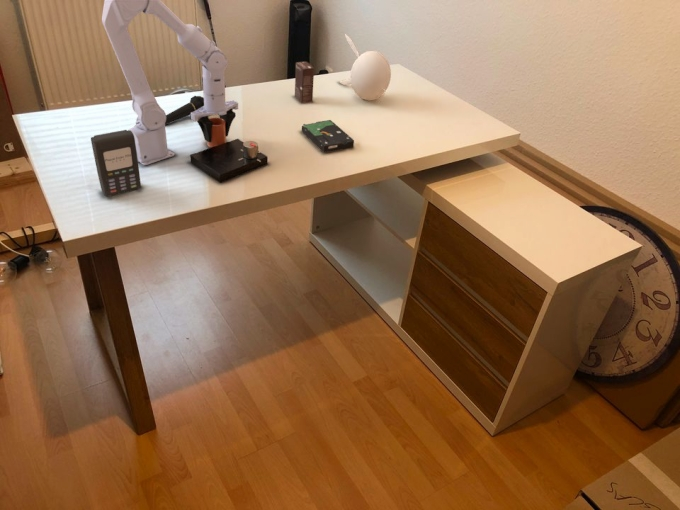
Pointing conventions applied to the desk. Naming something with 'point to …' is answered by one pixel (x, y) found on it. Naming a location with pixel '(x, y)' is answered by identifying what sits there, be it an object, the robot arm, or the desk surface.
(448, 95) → the desk surface
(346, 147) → the disk drive
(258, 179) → the desk surface
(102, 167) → the card reader
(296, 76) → the box
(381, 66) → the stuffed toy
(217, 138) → the cup
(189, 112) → the microphone
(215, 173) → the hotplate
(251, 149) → the dial
